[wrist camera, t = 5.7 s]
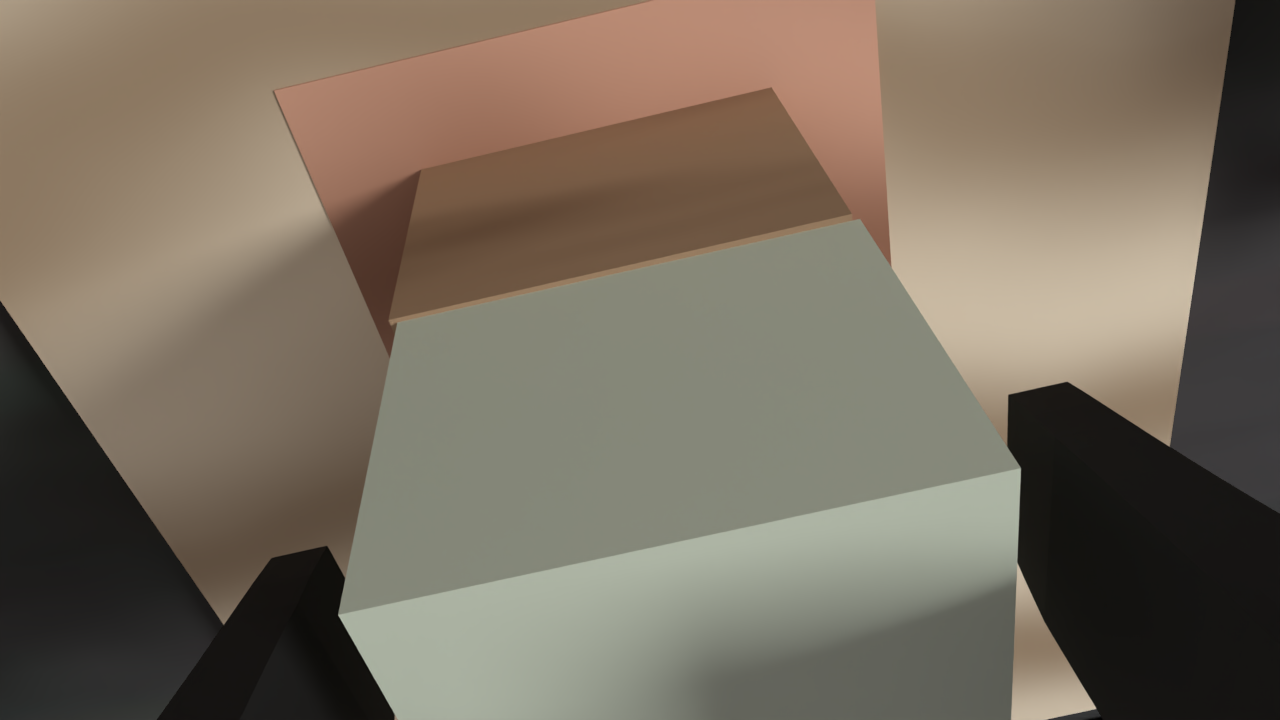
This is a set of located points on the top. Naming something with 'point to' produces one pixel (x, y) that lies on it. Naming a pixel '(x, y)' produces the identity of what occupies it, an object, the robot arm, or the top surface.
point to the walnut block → (610, 203)
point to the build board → (537, 111)
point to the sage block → (688, 502)
